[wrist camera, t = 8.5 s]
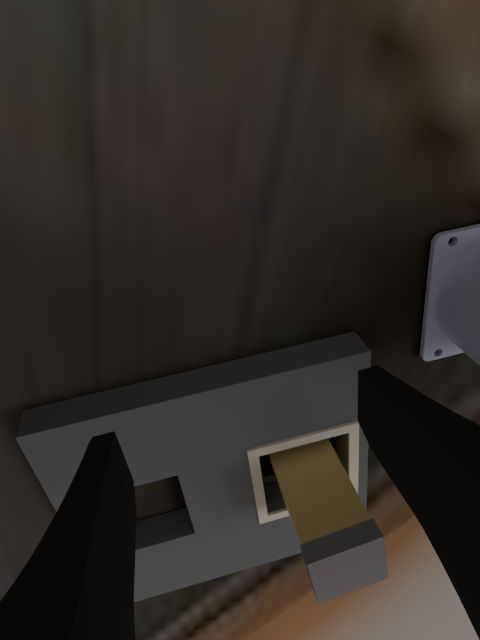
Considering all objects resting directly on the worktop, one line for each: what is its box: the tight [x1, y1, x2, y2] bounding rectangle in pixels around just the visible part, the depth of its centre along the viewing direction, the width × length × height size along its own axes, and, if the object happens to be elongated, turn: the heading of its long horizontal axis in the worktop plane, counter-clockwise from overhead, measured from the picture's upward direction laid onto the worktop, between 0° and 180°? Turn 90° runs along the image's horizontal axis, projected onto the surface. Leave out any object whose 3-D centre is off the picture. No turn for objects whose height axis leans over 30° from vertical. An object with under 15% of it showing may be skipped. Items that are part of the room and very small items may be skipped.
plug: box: [268, 438, 388, 604], centre depth 25 cm, size 4×4×8 cm
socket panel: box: [15, 331, 371, 602], centre depth 27 cm, size 18×16×2 cm
